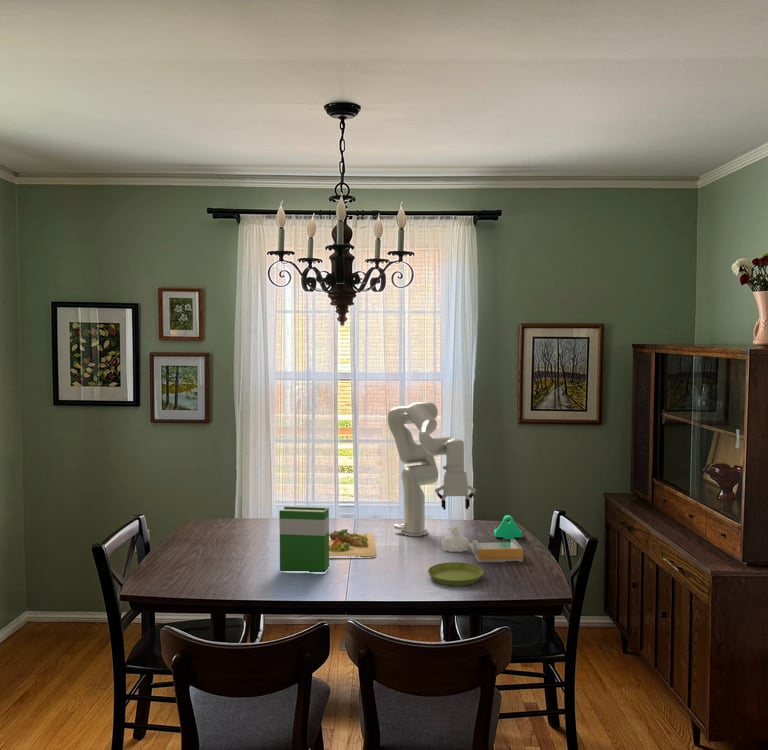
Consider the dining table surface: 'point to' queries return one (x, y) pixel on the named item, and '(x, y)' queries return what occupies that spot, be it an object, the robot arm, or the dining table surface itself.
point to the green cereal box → (304, 539)
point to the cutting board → (351, 544)
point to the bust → (455, 541)
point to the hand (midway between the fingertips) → (455, 508)
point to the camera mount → (508, 529)
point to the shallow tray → (497, 551)
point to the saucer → (455, 573)
